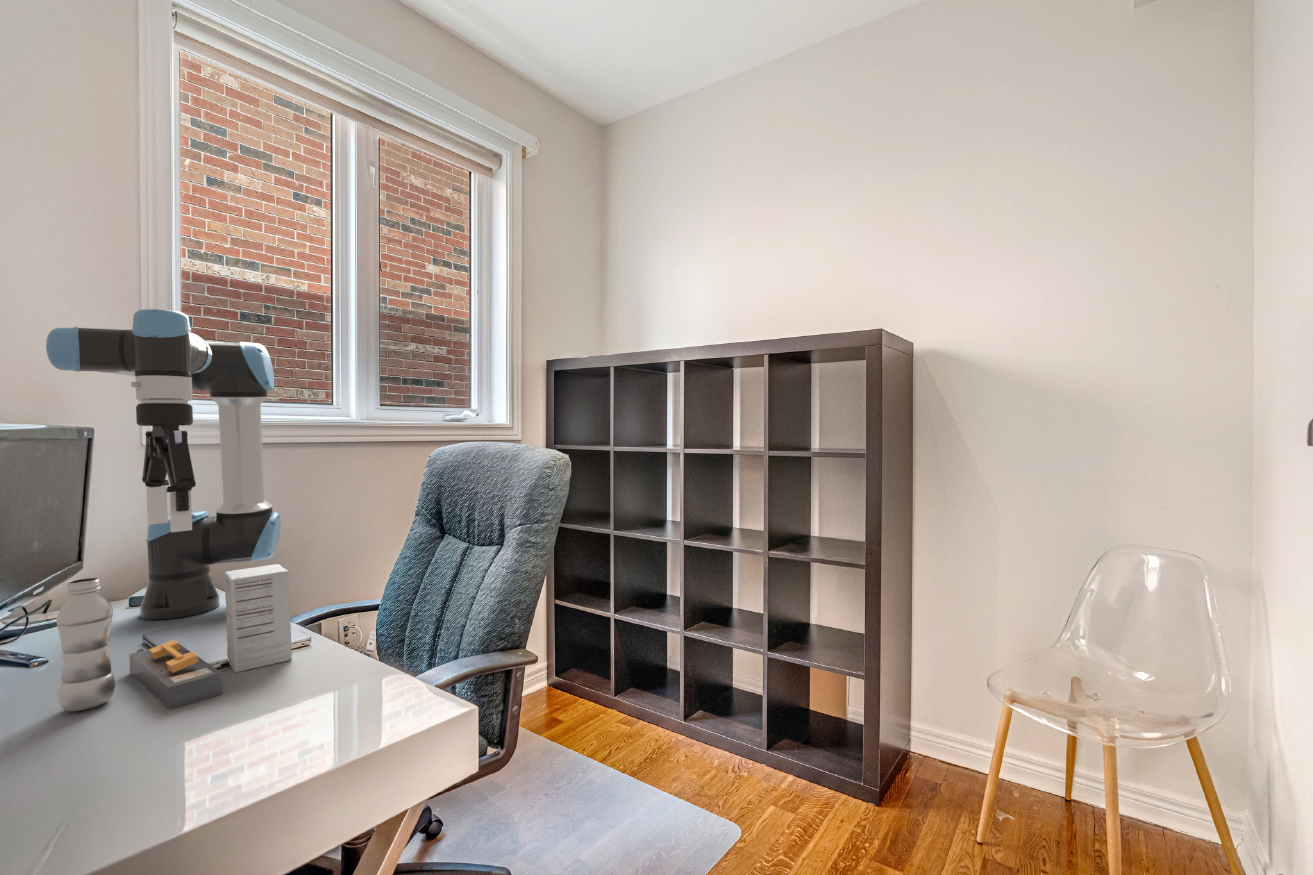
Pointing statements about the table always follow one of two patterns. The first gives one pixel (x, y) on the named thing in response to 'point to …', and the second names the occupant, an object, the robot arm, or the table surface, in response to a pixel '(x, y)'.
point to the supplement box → (258, 617)
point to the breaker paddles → (179, 660)
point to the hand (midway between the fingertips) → (169, 527)
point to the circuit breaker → (175, 679)
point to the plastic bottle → (85, 647)
